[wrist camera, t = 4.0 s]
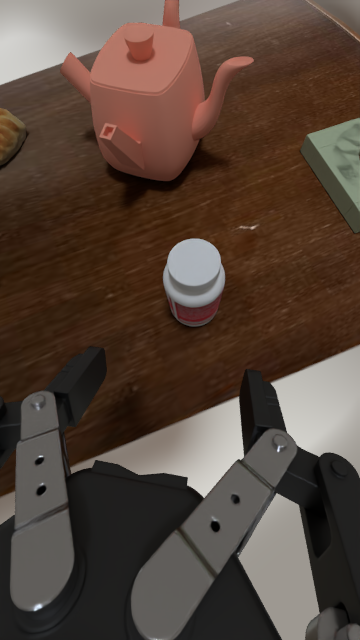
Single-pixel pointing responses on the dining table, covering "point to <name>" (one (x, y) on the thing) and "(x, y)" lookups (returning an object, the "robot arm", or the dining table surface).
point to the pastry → (10, 135)
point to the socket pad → (338, 166)
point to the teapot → (151, 96)
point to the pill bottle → (194, 281)
